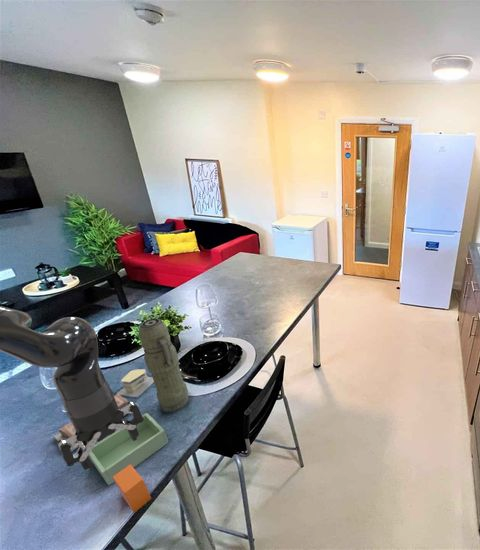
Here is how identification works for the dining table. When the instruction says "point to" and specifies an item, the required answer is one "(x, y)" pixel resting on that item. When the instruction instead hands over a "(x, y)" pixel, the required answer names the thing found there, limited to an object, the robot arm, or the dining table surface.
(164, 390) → the thermos
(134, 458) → the bin
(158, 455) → the dining table surface
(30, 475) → the dining table surface
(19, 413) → the dining table surface
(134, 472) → the block
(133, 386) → the stacked layers on plate
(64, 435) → the packaged product
